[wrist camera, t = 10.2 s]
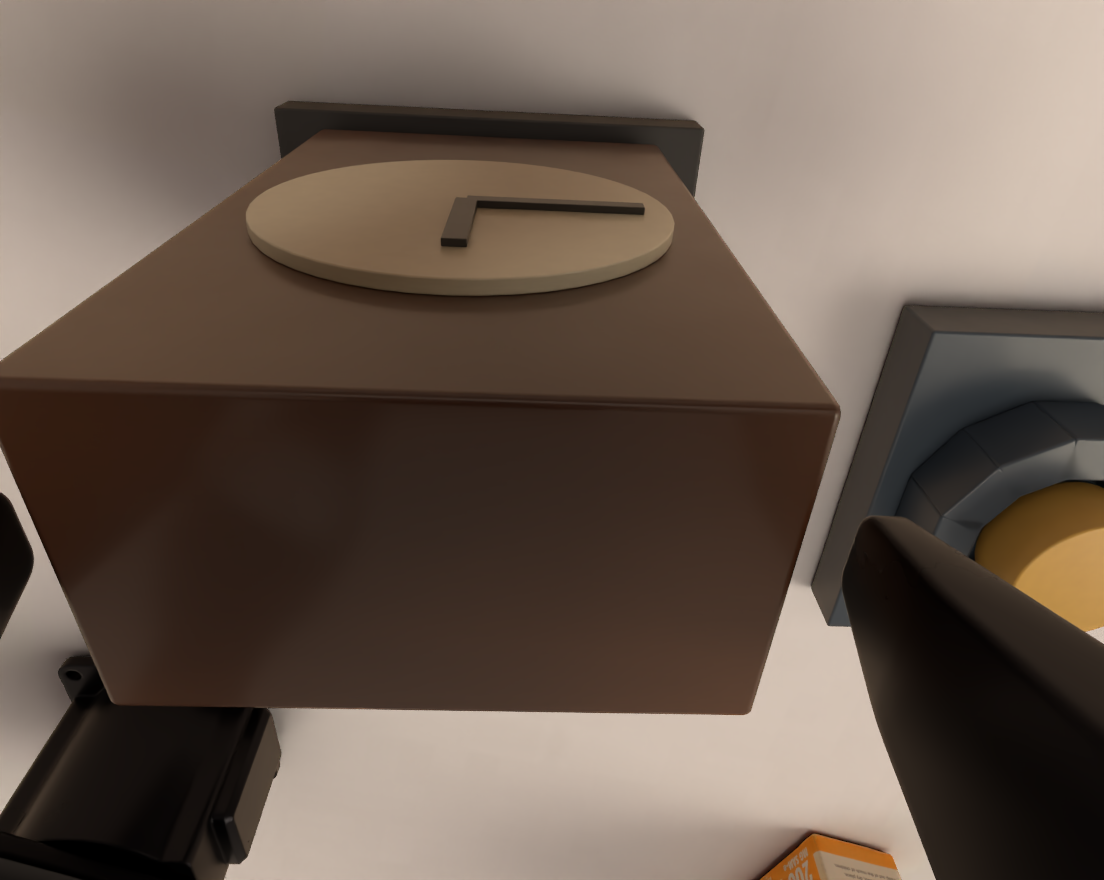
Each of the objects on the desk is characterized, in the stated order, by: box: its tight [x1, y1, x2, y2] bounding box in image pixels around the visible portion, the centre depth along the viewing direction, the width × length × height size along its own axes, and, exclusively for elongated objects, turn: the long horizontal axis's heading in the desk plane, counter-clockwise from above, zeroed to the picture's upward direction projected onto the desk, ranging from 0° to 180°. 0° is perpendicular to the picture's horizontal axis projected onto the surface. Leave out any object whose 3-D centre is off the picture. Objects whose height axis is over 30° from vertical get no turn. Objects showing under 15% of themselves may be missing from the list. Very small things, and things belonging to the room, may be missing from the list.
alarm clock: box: [0, 129, 841, 715], centre depth 11 cm, size 7×11×4 cm
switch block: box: [811, 305, 1104, 627], centre depth 20 cm, size 10×8×4 cm
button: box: [975, 482, 1104, 632], centre depth 18 cm, size 4×4×2 cm
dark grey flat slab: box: [274, 101, 704, 198], centre depth 20 cm, size 9×16×1 cm, turn 177°
